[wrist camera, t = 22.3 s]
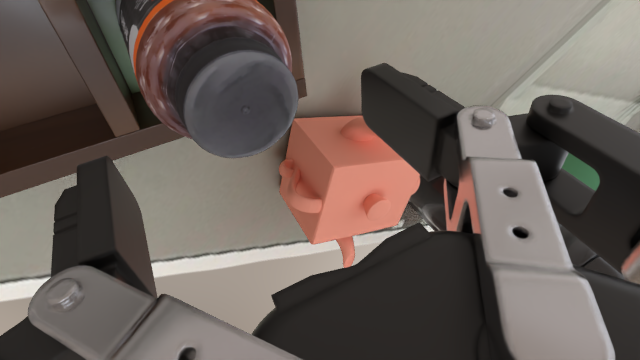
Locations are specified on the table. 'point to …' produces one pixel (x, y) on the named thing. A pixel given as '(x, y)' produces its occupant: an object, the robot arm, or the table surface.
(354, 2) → the table surface
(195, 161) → the table surface
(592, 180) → the alien toy
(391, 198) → the teapot
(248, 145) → the supplement bottle
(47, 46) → the organizer
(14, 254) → the table surface
